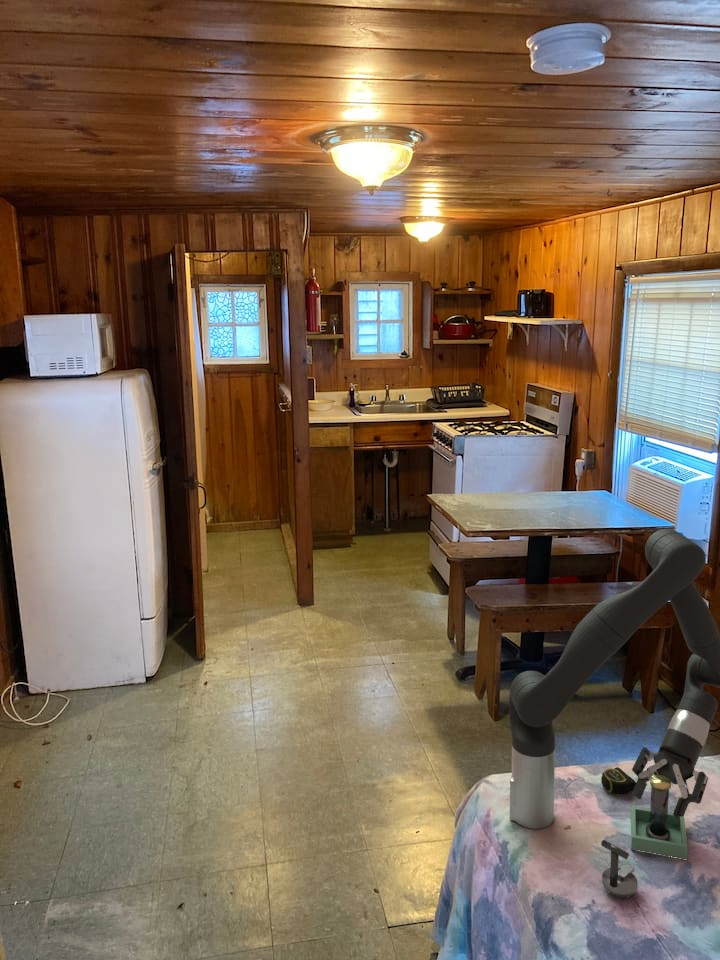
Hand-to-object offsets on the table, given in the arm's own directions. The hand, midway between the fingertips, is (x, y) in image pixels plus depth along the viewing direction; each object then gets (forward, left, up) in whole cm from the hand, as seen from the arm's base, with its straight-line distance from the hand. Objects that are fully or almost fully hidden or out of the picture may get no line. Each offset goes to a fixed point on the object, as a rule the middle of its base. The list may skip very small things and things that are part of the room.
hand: (656, 807), depth 154 cm
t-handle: (-7, -17, -8) cm, 20 cm away
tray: (+1, +1, -8) cm, 8 cm away
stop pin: (+1, +1, -8) cm, 8 cm away
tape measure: (-7, +18, -9) cm, 21 cm away
